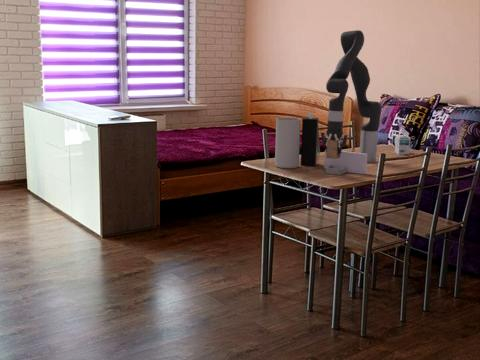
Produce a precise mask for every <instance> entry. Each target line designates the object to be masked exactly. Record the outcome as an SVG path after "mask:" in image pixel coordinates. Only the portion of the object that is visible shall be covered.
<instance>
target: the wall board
mask: <svg viewBox="0 0 480 360" xmlns="http://www.w3.org/2000/svg"><path fill="white" fill-rule="evenodd" d="M326 157H327V152H326V149H325V150H324V165H323V174H331V175H339V176H341V175H342V174H345V173H354V174H361V175H366V174H367V169H368V168H367V166H368V165H367V164H368V162H367V154H364V153H360V152H353V151H345V150H342V151H341V154H340V158H337V159H331V158H326Z"/></svg>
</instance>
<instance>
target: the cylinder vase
mask: <svg viewBox="0 0 480 360" xmlns="http://www.w3.org/2000/svg"><path fill="white" fill-rule="evenodd" d="M275 120H276V122H275V146H274V147H275V150H274V151H275V152H274V153H275V154H274V165H275V167H277V168H278V169H279V168H280V169H296V168H298V167H299V165H300V148H301V147H300V144H301V141H300V140H301V123H302V119H301V118H298V117H277V118H276V119H275Z"/></svg>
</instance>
